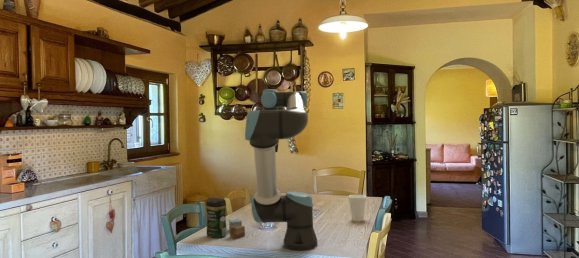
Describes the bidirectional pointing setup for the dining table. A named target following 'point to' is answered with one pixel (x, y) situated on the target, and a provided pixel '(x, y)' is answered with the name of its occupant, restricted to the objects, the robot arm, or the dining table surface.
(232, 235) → the walnut block
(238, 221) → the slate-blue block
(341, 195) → the dining table surface
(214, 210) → the coffee jar
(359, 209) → the foam cup
